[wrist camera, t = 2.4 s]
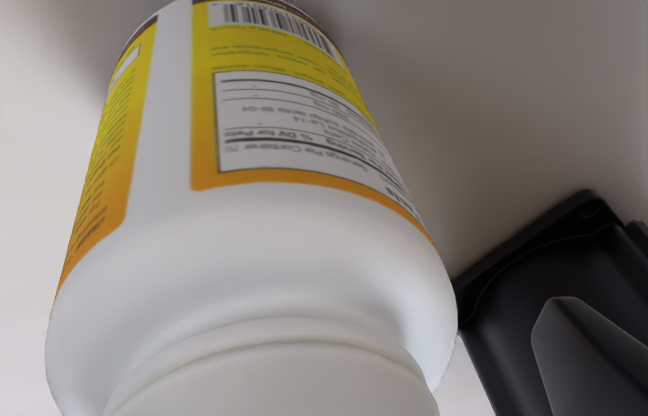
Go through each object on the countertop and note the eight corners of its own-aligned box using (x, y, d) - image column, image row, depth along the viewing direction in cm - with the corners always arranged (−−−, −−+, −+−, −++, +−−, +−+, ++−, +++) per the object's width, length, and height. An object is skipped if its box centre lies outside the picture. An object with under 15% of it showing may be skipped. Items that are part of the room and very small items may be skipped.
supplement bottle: (175, 216, 16) (149, 683, 8) (65, 27, 12) (-182, 531, 4) (369, 153, 16) (544, 568, 8) (314, -58, 12) (532, 310, 4)
